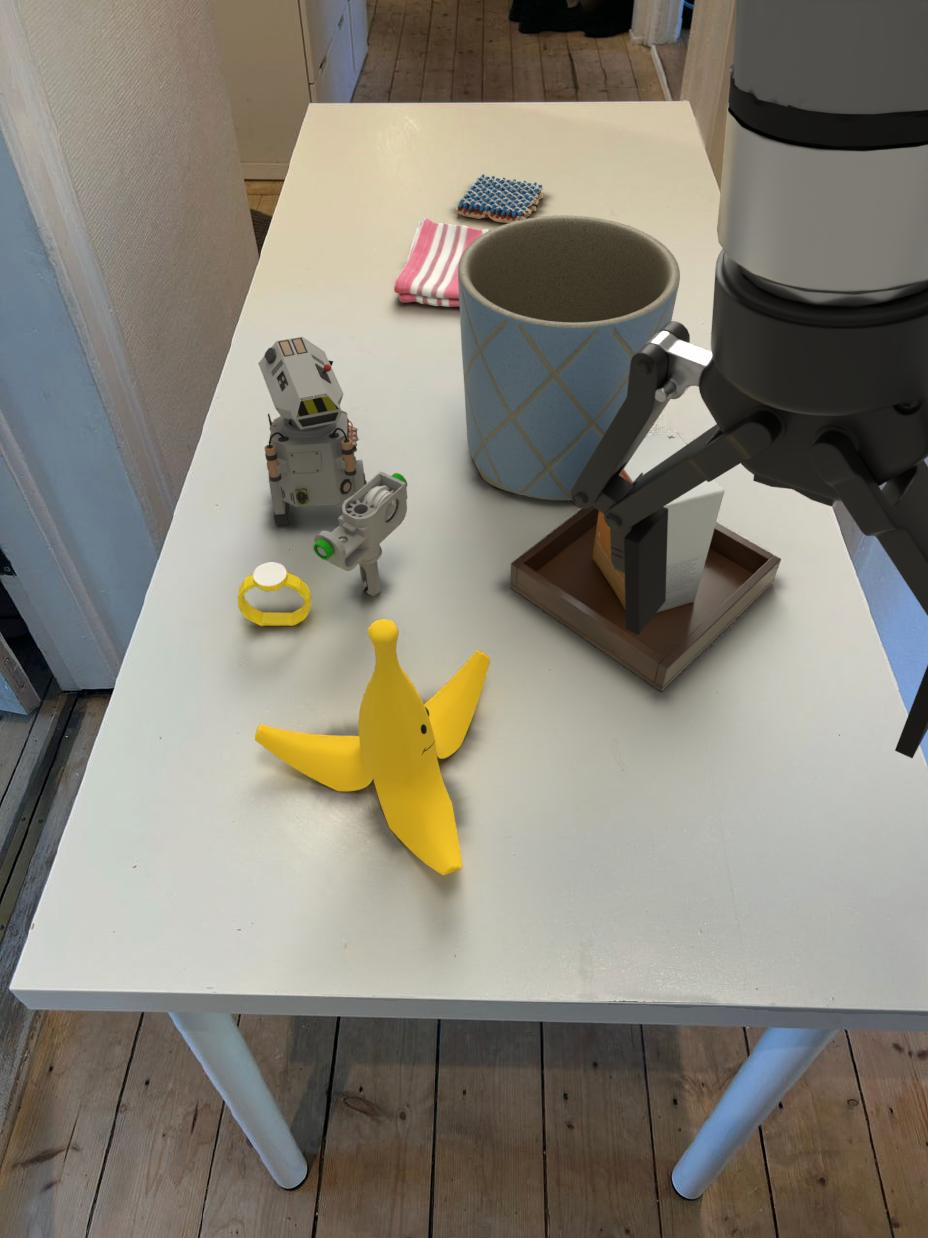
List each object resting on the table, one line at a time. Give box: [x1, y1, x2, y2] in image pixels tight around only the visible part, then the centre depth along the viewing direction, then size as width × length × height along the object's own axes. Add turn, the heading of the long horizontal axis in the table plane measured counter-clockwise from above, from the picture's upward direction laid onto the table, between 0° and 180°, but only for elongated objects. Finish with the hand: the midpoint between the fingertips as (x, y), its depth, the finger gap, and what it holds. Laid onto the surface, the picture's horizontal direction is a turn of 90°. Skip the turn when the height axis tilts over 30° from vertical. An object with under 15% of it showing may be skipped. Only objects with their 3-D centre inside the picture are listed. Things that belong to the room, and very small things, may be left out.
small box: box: [592, 429, 725, 613], centre depth 75 cm, size 8×6×13 cm
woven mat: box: [455, 173, 545, 224], centre depth 127 cm, size 10×11×2 cm
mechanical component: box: [312, 471, 408, 597], centre depth 76 cm, size 3×10×10 cm, turn 145°
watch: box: [237, 561, 312, 627], centre depth 76 cm, size 6×3×6 cm, turn 93°
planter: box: [458, 214, 681, 501], centre depth 85 cm, size 19×19×20 cm
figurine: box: [258, 336, 368, 526], centre depth 83 cm, size 9×12×15 cm
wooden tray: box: [509, 506, 782, 692], centre depth 79 cm, size 17×17×3 cm
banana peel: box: [254, 618, 491, 876], centre depth 62 cm, size 16×19×17 cm
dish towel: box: [393, 217, 491, 308], centre depth 114 cm, size 17×23×4 cm
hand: (769, 670), depth 43 cm, fingers open, 13 cm apart
